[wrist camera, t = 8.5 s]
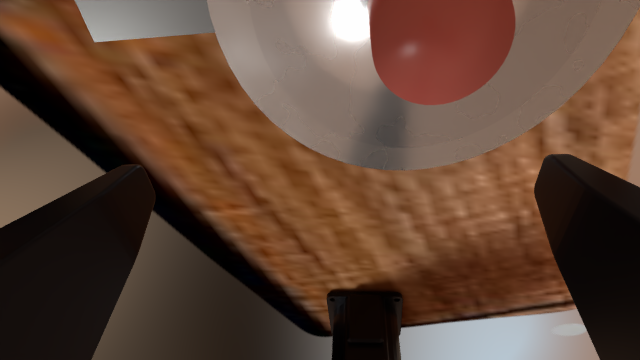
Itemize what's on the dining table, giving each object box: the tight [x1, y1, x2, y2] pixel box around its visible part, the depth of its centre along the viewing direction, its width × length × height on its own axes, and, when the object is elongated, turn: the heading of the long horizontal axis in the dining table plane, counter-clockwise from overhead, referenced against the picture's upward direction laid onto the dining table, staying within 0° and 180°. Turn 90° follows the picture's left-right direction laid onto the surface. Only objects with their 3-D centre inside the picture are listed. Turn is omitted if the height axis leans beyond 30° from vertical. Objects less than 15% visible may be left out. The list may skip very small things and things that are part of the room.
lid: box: [207, 0, 640, 170], centre depth 10 cm, size 13×13×5 cm
